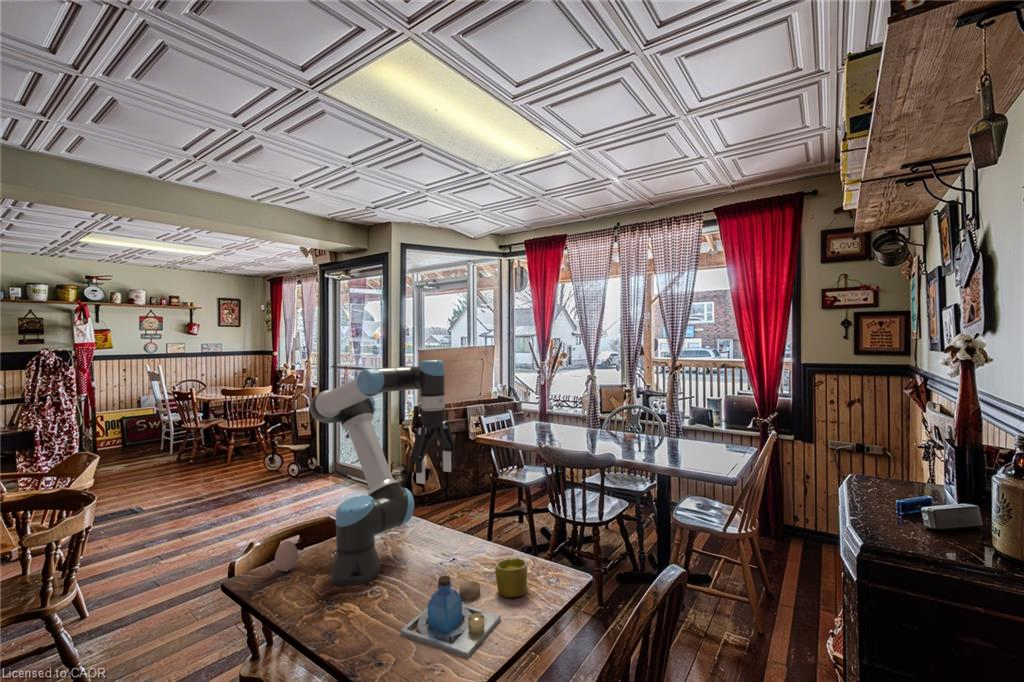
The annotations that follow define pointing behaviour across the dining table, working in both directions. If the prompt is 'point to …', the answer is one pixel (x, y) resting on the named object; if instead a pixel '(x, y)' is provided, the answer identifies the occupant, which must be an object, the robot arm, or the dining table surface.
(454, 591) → the perfume bottle
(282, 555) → the egg
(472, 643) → the plate
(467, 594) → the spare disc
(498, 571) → the mug
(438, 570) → the dining table surface
